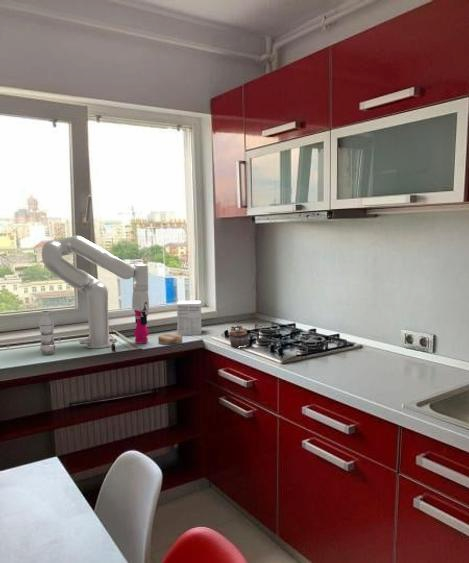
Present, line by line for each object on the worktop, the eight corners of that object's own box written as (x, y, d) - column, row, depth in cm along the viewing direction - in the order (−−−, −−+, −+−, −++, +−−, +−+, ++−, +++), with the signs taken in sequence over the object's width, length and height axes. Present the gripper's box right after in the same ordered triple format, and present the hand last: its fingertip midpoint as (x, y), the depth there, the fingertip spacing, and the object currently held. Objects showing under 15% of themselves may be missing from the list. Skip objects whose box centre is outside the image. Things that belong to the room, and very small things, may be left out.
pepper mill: (151, 341, 237) (151, 302, 236) (142, 343, 231) (141, 304, 230) (140, 339, 241) (140, 301, 240) (131, 342, 235) (130, 303, 233)
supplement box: (201, 334, 254) (200, 303, 253) (177, 335, 253) (176, 303, 252) (201, 330, 267) (201, 300, 266) (178, 331, 266) (177, 300, 265)
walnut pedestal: (166, 345, 228) (165, 339, 228) (154, 341, 237) (154, 336, 237) (186, 342, 235) (186, 336, 235) (174, 338, 245) (174, 333, 244)
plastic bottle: (49, 356, 209) (47, 312, 207) (37, 355, 211) (35, 312, 209) (59, 353, 215) (57, 310, 213) (47, 352, 217) (45, 310, 216)
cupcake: (240, 349, 218) (240, 328, 217) (225, 346, 224) (224, 326, 223) (253, 345, 225) (252, 325, 224) (237, 343, 231) (237, 323, 230)
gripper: (126, 287, 238) (126, 322, 240) (141, 289, 225) (142, 326, 226) (139, 286, 243) (140, 321, 244) (155, 289, 230) (156, 325, 231)
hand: (141, 323), depth 235 cm, fingers closed on pepper mill, 5 cm apart
